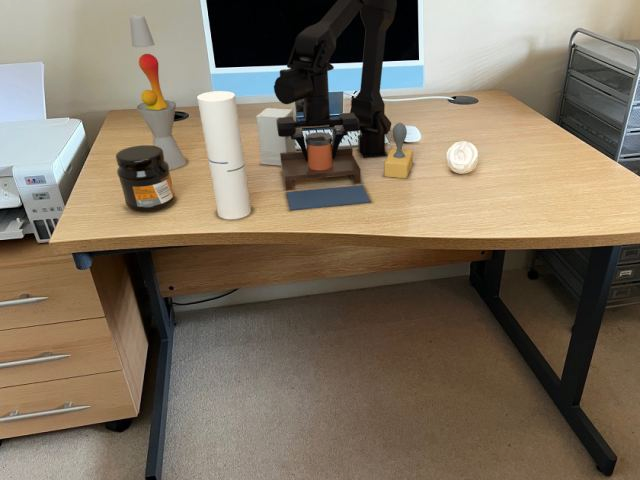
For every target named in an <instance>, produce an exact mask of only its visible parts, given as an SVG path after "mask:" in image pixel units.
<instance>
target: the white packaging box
mask: <svg viewBox="0 0 640 480" xmlns="http://www.w3.org/2000/svg"><path fill="white" fill-rule="evenodd" d="M280 117H293V118H294V111H293V109H291V108H290V109H289V108H275V107H265V109H264V110H262V111H260V113H258V114H257V115H256V116H255V118H256V126H257V127H256V129H257V137H258V145H259V153H260V163H261V164H262V165H268V166H269V165H270V166H281V158H280V153H284V152H296V151H297V148H296V147H297V146H296V140H295V139H291V137H290V136H286V137H280V136H279V135H278V131H277V124H276V120H277V119H278V118H280Z"/></svg>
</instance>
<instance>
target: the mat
mask: <svg viewBox="0 0 640 480" xmlns="http://www.w3.org/2000/svg"><path fill="white" fill-rule="evenodd" d="M286 197H287V202H288V206H289V210H290V211H299V210H307V209H308V210H309V209H319V208H329V207H340V206H350V205H359V204H360V205H361V204H370V203H371V200H370V198H369V195H368V193H367V192H366V189H365V187H364V186H363V184H361V185H349V186H338V187H329V188H327V187H326V188H315V189H303V190H294V191H286Z"/></svg>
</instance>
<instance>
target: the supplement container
mask: <svg viewBox="0 0 640 480" xmlns="http://www.w3.org/2000/svg"><path fill="white" fill-rule="evenodd" d="M164 159H165V157H164V153H163V150H162V149H161V148H160V147H157V146H153V144H152V145H150V144H143V145H134V146H130V147H126V148H123V149H121V150H119V151H118V152H117V153H116V154H115V160H116V163H117V166H118V168H117V170H116V173H117V176H118V178H119V182H120V187H121V189H122V193H123V196H124V202H125V205H126V207H127V208H128V209H129V210H131V211H133V212H136V213H156V212H160V211H163V210H165V209H167V208H169V207H171V205H172V204H174V202H175V200H176V194H175V190H174V185H173V182H172V176H171V173H170V170H169V165H168V163H167V162H166V161H165V160H164Z"/></svg>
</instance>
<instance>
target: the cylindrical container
mask: <svg viewBox="0 0 640 480" xmlns="http://www.w3.org/2000/svg"><path fill="white" fill-rule="evenodd" d="M196 98H197V104H198V109H199V115H200V116H199V117H200V121H201V127H202V132H203V138H204V139H203V140H204V143H205V149H206V150H205V151H206V155H207V161H208V167H209V172H210V177H211V183H212V188H213V194H214V200H215V201H214V202H215V206H216V212H217V216H218V217H220V218H221V219H225V220H238V219H242V218H245V217H247V216H248V215H250V214H251V212H252V208H251V207H252V206H251V200H250V192H249V186H248V185H249V184H248V179H247V171H246V165H245V157H244V156H245V155H244V150H243V142H242V136H241V129H240V120H239V115H238V106H237V100H236V94H235V93H234V92H231V91H227V90H214V91H213V90H212V91H206V92H202V93H200V94H198V95H197V96H196Z"/></svg>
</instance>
